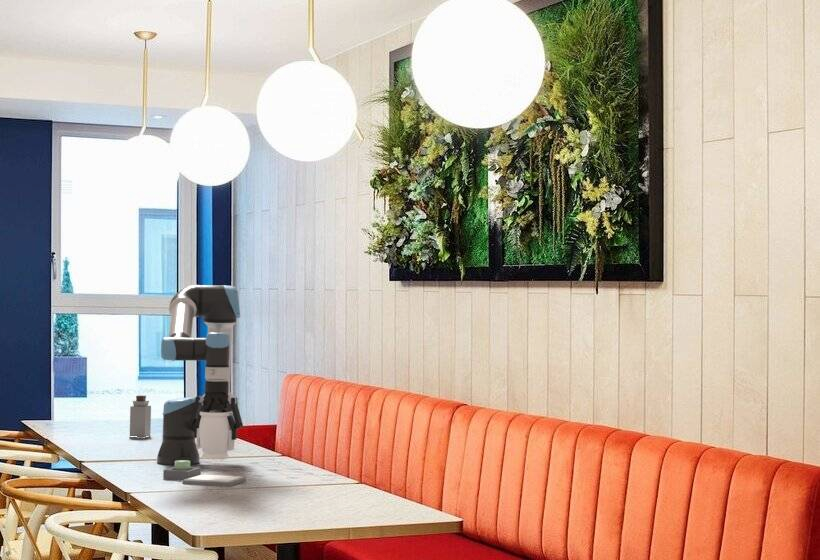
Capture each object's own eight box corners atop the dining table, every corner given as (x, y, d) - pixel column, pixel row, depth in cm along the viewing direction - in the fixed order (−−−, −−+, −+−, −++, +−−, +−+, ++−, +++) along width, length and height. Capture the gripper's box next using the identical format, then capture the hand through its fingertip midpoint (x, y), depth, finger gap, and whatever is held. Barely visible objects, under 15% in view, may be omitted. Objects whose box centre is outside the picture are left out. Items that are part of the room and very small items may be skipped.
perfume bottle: (135, 436, 488) (136, 395, 488) (150, 436, 487) (151, 395, 487) (129, 437, 481) (130, 396, 482) (144, 438, 480) (145, 396, 481)
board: (182, 483, 355) (182, 479, 355) (200, 478, 367) (200, 473, 367) (228, 486, 350) (228, 482, 350) (245, 481, 363) (245, 476, 363)
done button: (171, 471, 366) (172, 461, 366) (179, 469, 370) (179, 459, 371) (185, 472, 364) (185, 462, 364) (192, 470, 369) (192, 460, 369)
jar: (192, 459, 356) (193, 411, 356) (208, 455, 366) (209, 409, 366) (221, 461, 352) (222, 413, 353) (237, 457, 362) (238, 411, 362)
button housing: (163, 479, 364) (163, 469, 364) (176, 475, 373) (176, 466, 373) (188, 480, 362) (188, 471, 362) (200, 476, 370) (201, 467, 371)
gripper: (179, 379, 359) (177, 448, 358) (245, 382, 353) (243, 452, 352) (189, 378, 367) (188, 446, 366) (254, 380, 360) (253, 449, 359)
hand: (215, 449), depth 359 cm, fingers closed on jar, 10 cm apart
